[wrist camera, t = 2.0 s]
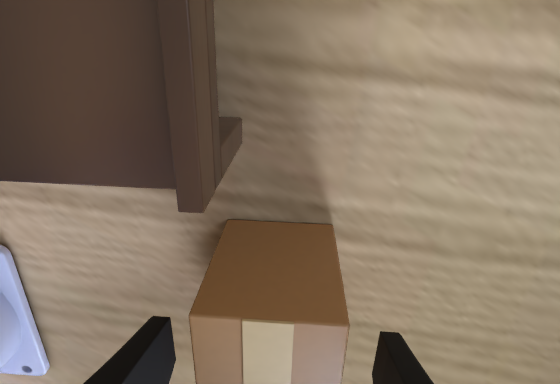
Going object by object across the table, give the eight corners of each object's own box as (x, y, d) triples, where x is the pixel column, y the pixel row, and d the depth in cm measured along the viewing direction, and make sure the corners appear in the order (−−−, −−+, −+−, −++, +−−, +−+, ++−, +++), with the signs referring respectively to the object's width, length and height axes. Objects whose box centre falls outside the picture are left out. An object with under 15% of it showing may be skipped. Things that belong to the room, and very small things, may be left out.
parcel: (231, 319, 17) (200, 443, 12) (227, 218, 14) (186, 317, 9) (322, 325, 17) (332, 454, 11) (333, 224, 14) (351, 327, 9)
